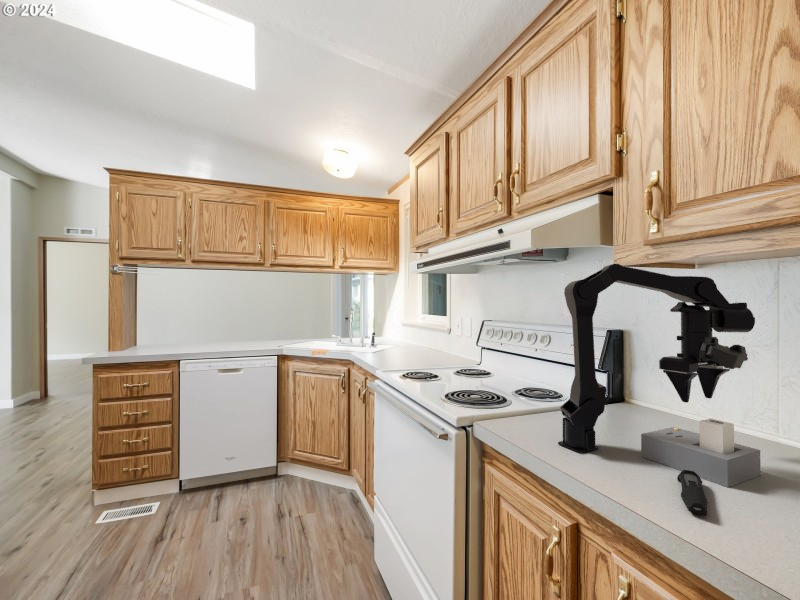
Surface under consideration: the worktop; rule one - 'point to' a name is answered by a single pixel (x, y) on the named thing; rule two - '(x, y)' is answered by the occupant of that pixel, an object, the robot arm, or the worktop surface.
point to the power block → (700, 456)
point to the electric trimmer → (693, 492)
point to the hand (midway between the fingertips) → (697, 400)
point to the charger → (717, 436)
